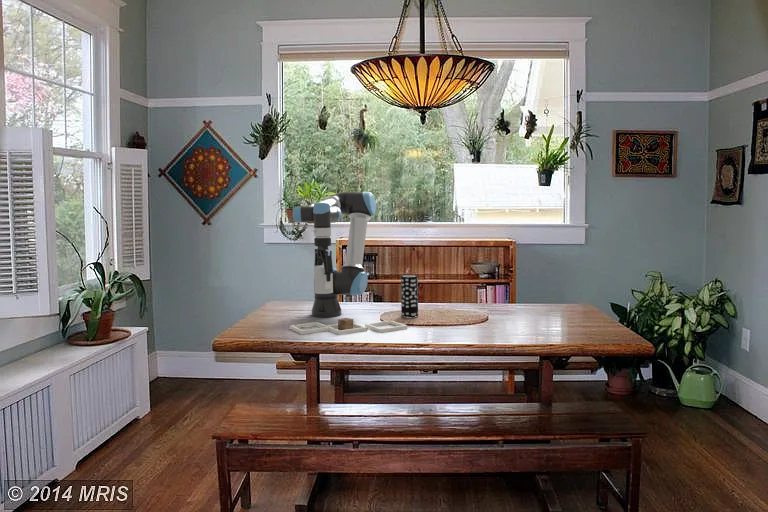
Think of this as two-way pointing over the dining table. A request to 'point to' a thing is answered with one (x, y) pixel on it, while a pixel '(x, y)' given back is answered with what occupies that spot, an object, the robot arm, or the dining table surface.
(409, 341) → the dining table surface
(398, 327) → the frame
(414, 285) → the white-spotted black cylinder
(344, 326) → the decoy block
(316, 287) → the cup
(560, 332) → the dining table surface
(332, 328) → the frame
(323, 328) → the frame
